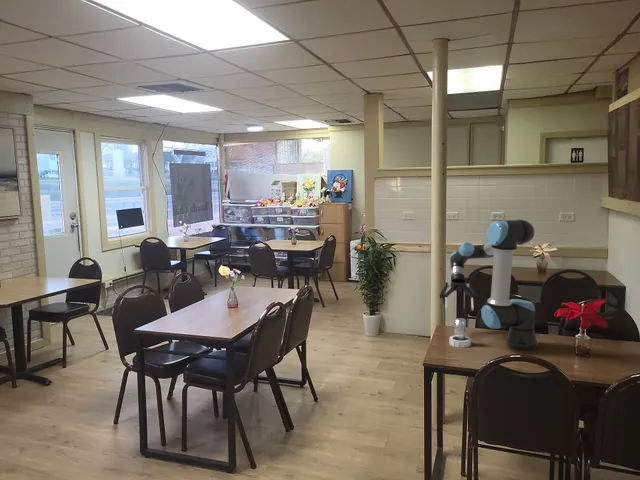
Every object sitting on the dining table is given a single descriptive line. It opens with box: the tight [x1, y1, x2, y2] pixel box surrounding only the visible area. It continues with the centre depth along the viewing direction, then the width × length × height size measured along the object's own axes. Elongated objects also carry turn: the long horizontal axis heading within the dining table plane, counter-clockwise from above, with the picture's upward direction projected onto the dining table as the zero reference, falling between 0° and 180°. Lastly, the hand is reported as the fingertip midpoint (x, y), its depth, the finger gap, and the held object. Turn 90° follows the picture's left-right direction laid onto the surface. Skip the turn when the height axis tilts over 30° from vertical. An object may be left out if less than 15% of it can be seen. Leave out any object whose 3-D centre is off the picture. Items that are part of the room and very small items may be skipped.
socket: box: [449, 335, 472, 348], centre depth 250 cm, size 10×10×3 cm
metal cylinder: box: [454, 317, 467, 341], centre depth 249 cm, size 6×6×12 cm
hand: (459, 309), depth 259 cm, fingers open, 13 cm apart
